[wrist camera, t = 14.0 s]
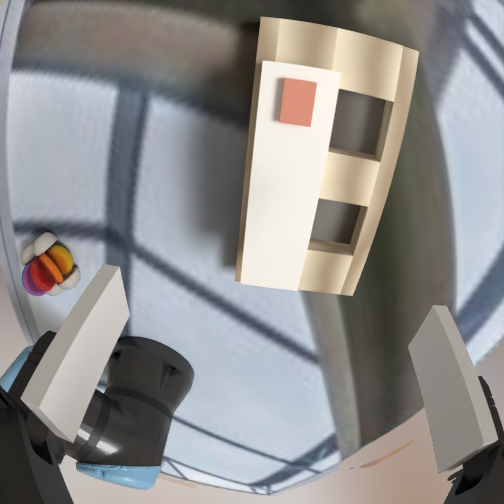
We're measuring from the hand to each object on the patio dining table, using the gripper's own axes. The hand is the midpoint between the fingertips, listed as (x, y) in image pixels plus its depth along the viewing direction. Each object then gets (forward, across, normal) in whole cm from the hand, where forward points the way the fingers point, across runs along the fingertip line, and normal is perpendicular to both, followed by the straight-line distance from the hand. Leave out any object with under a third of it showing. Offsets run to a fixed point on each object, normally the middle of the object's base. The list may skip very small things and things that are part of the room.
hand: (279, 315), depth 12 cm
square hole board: (+19, +3, 0) cm, 20 cm away
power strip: (+19, 0, 0) cm, 19 cm away
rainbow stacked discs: (+20, -30, -16) cm, 39 cm away
